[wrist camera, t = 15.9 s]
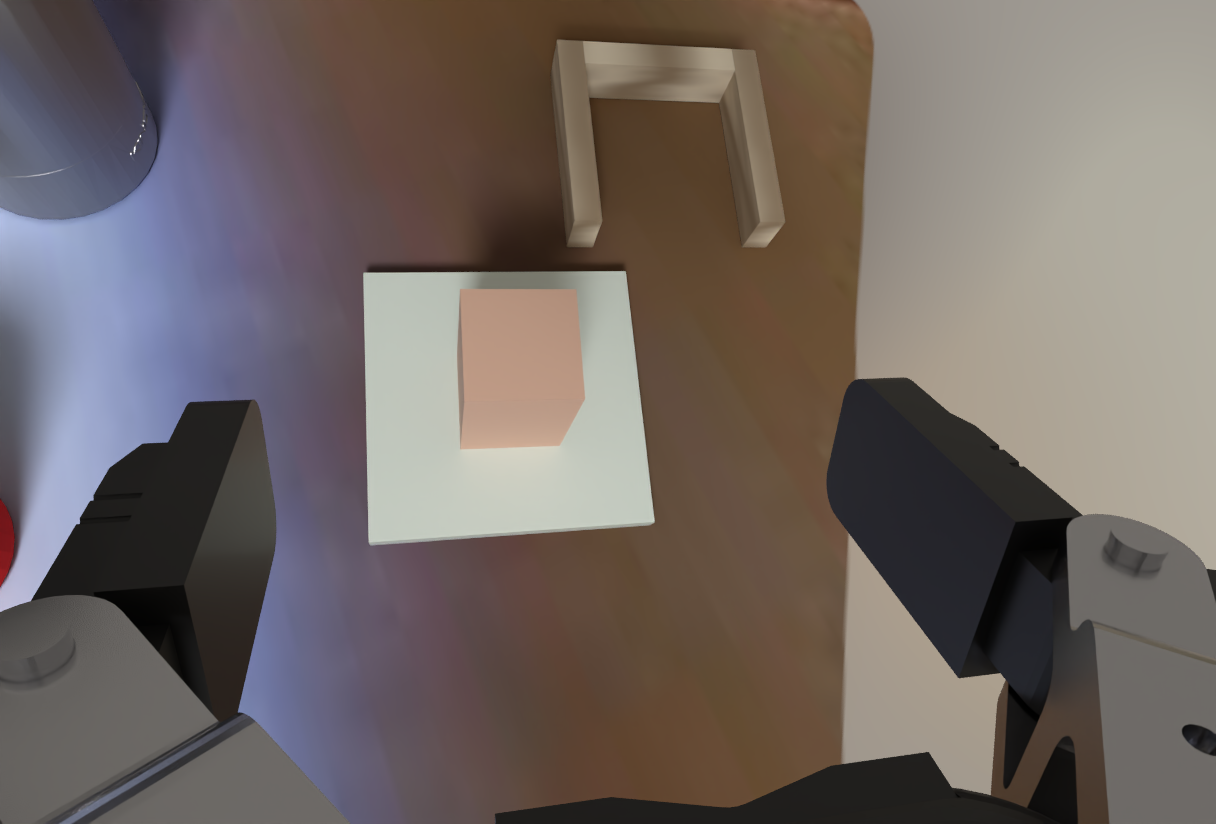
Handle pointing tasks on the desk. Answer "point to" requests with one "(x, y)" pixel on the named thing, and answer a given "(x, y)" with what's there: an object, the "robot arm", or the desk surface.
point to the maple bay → (667, 79)
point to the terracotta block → (518, 367)
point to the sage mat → (495, 477)
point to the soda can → (5, 541)
